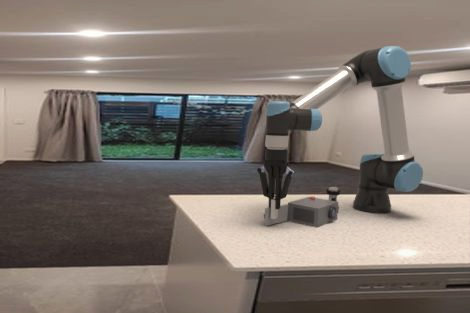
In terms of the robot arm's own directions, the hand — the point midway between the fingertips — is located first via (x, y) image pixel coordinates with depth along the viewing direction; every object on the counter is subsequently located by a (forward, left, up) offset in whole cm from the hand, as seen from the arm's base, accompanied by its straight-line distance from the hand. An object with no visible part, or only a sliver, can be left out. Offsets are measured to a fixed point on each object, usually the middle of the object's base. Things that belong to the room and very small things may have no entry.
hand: (273, 218), depth 135 cm
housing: (-18, -5, -3) cm, 19 cm away
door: (-2, -3, -2) cm, 5 cm away
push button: (-31, -13, -3) cm, 34 cm away
